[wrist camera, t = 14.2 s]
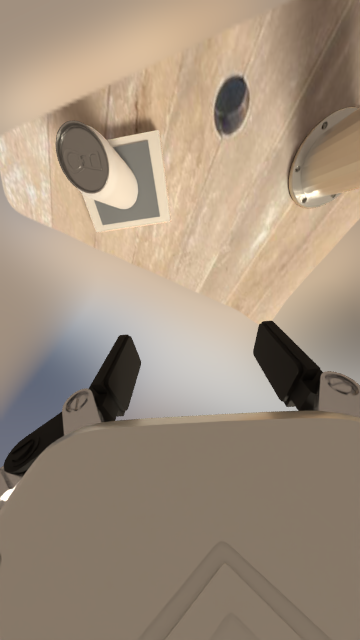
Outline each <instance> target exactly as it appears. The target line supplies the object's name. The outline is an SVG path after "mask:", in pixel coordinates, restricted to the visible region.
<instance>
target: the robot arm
mask: <svg viewBox="0 0 360 640" xmlns="http://www.w3.org/2000/svg"><path fill="white" fill-rule="evenodd" d="M295 169H296V171H295ZM359 188H360V108H356V107H347V108H344V109H340V110H338V111H336V112H334V113H332V114H331V115H329V116H328V117H326V118H325V119H324V120H322V121H321V122H320V123H319V124H318V125H317V126H316V127H315V128H314V129H313V130H312V131H311V132H310V133H309V134H308V136H307V137H306V138H305V140H304V141H303V143H302V144H301V146H300V148H299V150H298V152H297V153H296V155H295V158H294V161H293V163H292V166H291V171H290V176H289V191H290V195H291V197H292V199H293V201H294V202H295V203H296V204H297V205H299V206H300V207H303V208H316V207H320V206H323V205H326V204H327V203H329V202H331V201H333V200H334V199H335V198H337V197H338V196H339V195H340V194H342V193H343V192H346V191H350V190H355V189H359ZM253 353H254V356H255V358H256V360H257V361H258V363H259V365H260V366H261V368H262V370H263V371H264V373H265V375H266V377H267V379H268V380H269V382H270V384H271V385H272V387H273V389H274V391H275V392H276V394H277V396H278V397H279V399H280V400H281V401H283V402H284V403H285V405H286V406H287V407H291V406H292V407H294V406H296V408H297V409H298V411H283V412H282V411H281V412H259V413H239V414H219V415H202V416H201V415H200V416H182V417H165V418H149V419H134V420H120V421H115V419H116V416H124V413H125V411H126V410H127V409H128V407H129V403H130V400H131V397H132V393H133V390H134V386H135V383H136V379H137V376H138V373H139V369H140V366H141V361H140V358H139V355H138V353H137V350H136V348H135V345H134V343H133V340H132V338H131V337H130V336H128V335H120V336H119V337H118V339H117V341H116V342H115V344H114V346H113V347H112V349H111V351H110V353H109V354H108V356H107V358H106V359H105V361H104V363H103V365H102V367H101V368H100V370H99V372H98V374H97V375H96V377H95V379H94V380H93V382H92V384H91V386H90V387H89V389H82V390H79V391H77V392H75V393H74V394H72V395H71V396H70V397H69V398H68V399H67V401H66V402H65V403H64V406H63V409H62V412H61V413H60V414H58V415H57V416H55V417H54V418H53V419H51V420H49V421H48V422H47V423H45V424H44V425H42V426H41V427H39V428H38V429H37V430H35V431H34V432H32V433H31V434H29V435H28V436H26V437H25V438H24V439H22V440H21V441H20V442H19V443H18V444H17V445H16V446H15V447H14V448H13V449H12V451H11V452H10V453H9V455H8V456H7V458H6V460H5V463H4V466H2V467H1V468H0V640H360V385H359V384H358V383H356V382H355V381H354V380H353V379H351V378H349V377H347V376H345V375H343V374H340V373H337V372H331V371H327V372H324V373H323V372H322V371H321V370H320V368H319V367H318V366H317V365H316V364H315V363H314V362H313V361H312V360H311V359H310V358H309V357H308V356H307V355H306V354H305V353H304V352H303V351H302V350H301V349H300V348H299V347H298V346H297V345H296V344H295V343H294V342H293V341H292V340H291V339H290V338H289V337H288V336H287V335H286V334H285V333H284V332H283V331H282V330H281V329H280V328H279V327H278V326H277V325H276V324H275V323H274V322H273V321H263V322H262V323H261V324H259V327H258V332H257V337H256V342H255V346H254V351H253Z"/></svg>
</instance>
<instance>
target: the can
mask: <svg viewBox="0 0 360 640" xmlns="http://www.w3.org/2000/svg"><path fill="white" fill-rule="evenodd" d="M56 153H57V157H58V161H59V164H60V166H61V168H62V170H63V172H64V174H65V175H66V177H67V178H68V180H69V181H70V182H71V183H72V184H73V185H74V186H75V187H76V188H77V189H78V190H79V191H80V192H81V193H83V194H84V195H86V196H87V197H89V198H91V199H93V200H96V201H99V202H102V203H105V204H107V205H110V206H113V207H116V208H119V209H128V208H130V207H132V206H133V205H134V203H135V202H136V200H137V196H138V185H137V181H136V178H135V176H134V174H133V172H132V171H131V169H130V168H129V167H128V165H127V164H126V163H125V162H124V161H123V159H122V158H121V157H120V156H119V154H118V153H117V152H116V151H115V150H114V148H113V147H112V146H111V145H110V144H109V142H108V141H107V140H106V139H105V138H104V137H103V136H102V135H101V134H100V133H99V132H98V131H97V130H95V129H94V128H92V127H90V126H88V125H85V124H84V123H81V122H79V121H68V122H66V123H64V124H63V125H62V126H61V127H60V129H59V131H58V133H57V137H56Z"/></svg>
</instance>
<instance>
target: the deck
mask: <svg viewBox="0 0 360 640" xmlns="http://www.w3.org/2000/svg"><path fill="white" fill-rule="evenodd" d="M107 141H108V142H109V144H110V145H111V146H112V147H113V148H114V150H115V151H116V152H117V153H118V154H119V156H120V157H121V158H122V159H123V161H124V162H125V163H126V164H127V165H128V167H129V168H130V169H131V171H132V172H133V174H134V176H135V178H136V181H137V185H138V196H137V200H136V202H135V203H134V205H133V206H132V207H130V208H128V209H119V208H116V207H113V206H110V205H107V204H105V203H102V202H99V201H96V200H93V199H91V198H89V197H87V196H86V195H84V194H83V193H82V195H83V198H84V201H85V203H86V206H87V209H88V211H89V214H90V217H91V219H92V222H93V225H94V227H95V230H96V232H106V231H113V230H120V229H126V228H133V227H140V226H146V225H153V224H160V223H166V222H171V214H170V207H169V199H168V191H167V183H166V175H165V167H164V159H163V152H162V144H161V137H160V133H159V130H155V131H150V132H145V133H140V134H135V135H129V136H124V137H119V138H114V139H109V140H107Z"/></svg>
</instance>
